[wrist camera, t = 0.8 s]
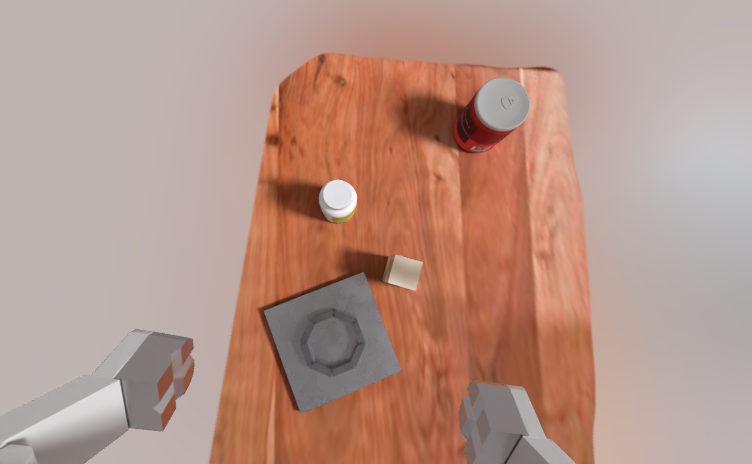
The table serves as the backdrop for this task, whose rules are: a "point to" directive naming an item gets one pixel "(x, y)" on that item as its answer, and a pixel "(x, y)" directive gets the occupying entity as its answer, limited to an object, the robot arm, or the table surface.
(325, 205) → the supplement bottle
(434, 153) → the table surface
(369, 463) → the table surface
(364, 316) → the grey square socket board
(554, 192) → the table surface
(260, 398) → the table surface
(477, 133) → the canned food
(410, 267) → the birch block
